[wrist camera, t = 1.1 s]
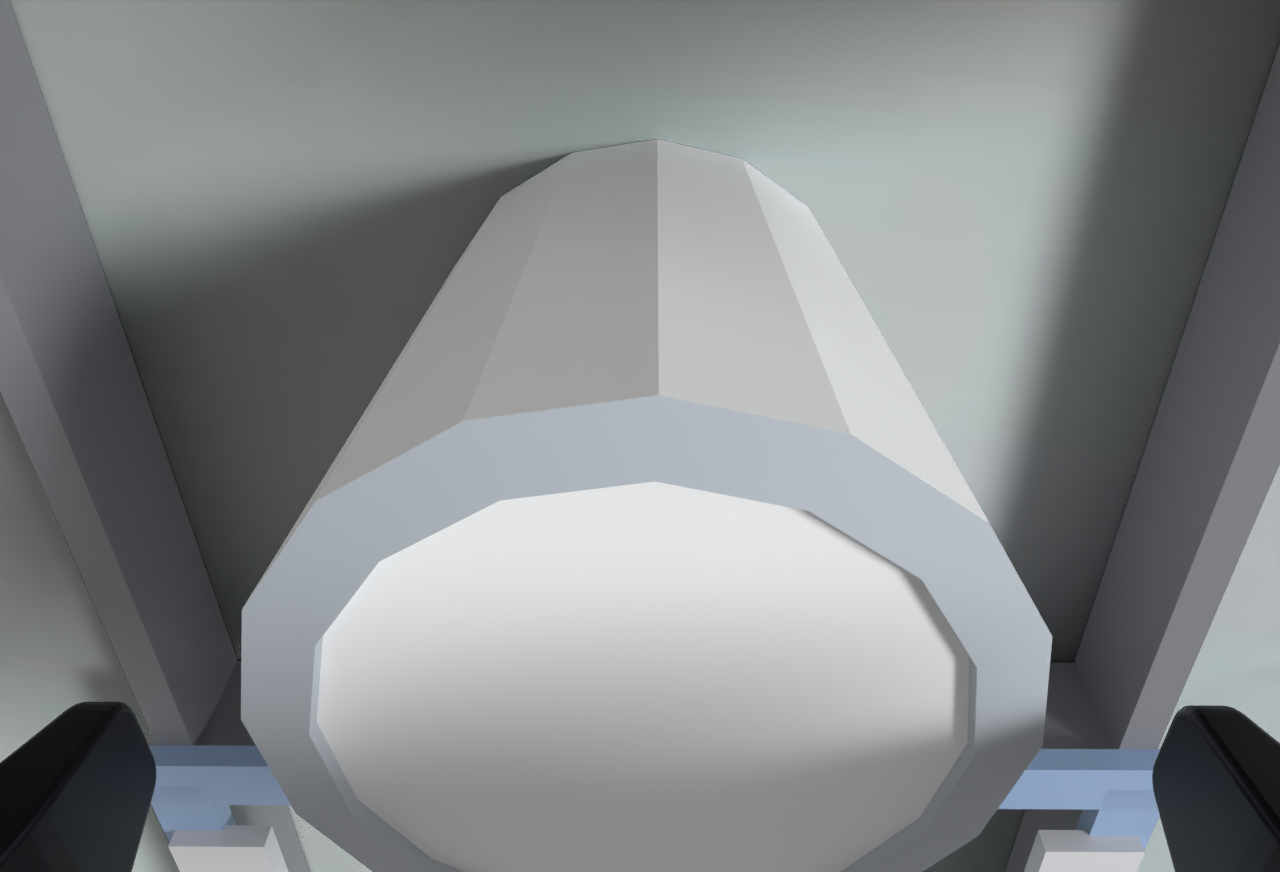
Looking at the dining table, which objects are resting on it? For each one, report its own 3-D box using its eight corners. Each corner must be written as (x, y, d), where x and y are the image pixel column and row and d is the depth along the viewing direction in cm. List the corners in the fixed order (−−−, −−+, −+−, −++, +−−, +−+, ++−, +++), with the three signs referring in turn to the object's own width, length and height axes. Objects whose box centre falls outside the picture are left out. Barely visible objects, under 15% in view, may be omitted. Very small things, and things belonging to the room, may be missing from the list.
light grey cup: (751, 577, 17) (798, 1014, 11) (347, 434, 15) (162, 857, 10) (999, 223, 13) (1253, 602, 8) (502, -10, 12) (353, 247, 6)
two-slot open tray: (975, 1054, 26) (1004, 1176, 24) (340, 1047, 27) (311, 1167, 24) (1475, -300, 10) (1704, -305, 8) (-162, -273, 10) (-383, -270, 8)
